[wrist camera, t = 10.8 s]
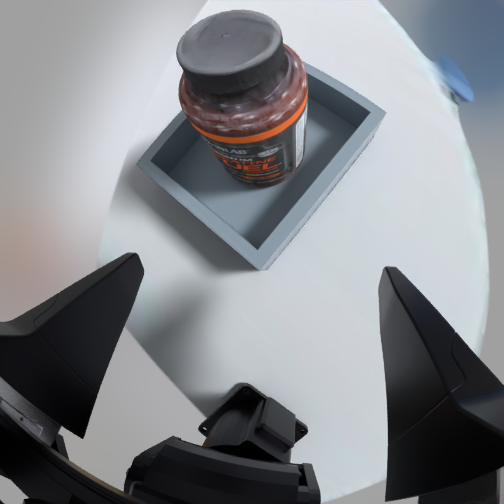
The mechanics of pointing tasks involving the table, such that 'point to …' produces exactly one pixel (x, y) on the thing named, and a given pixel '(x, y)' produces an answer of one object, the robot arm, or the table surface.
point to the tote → (272, 197)
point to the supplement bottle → (245, 95)
